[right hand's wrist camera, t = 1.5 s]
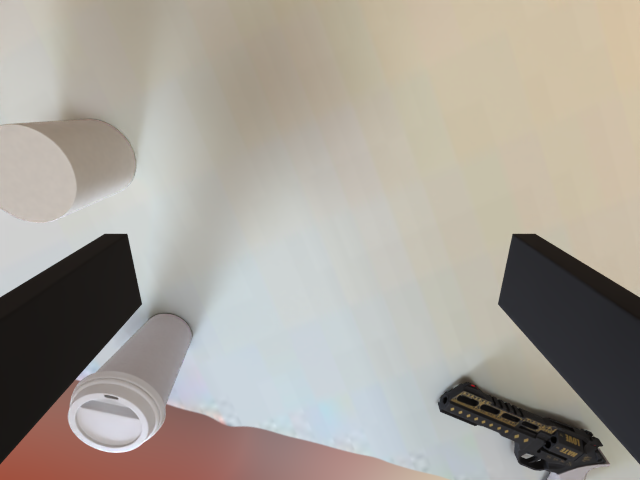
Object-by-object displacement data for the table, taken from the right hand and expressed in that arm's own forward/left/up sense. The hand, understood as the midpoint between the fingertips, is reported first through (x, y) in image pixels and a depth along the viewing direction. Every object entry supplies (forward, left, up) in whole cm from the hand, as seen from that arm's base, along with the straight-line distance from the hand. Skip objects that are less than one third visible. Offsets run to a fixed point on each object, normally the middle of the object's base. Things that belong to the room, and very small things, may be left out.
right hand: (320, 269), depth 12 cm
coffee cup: (+19, -26, -31) cm, 44 cm away
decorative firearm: (+50, +20, -31) cm, 62 cm away
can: (-5, -25, -31) cm, 40 cm away
